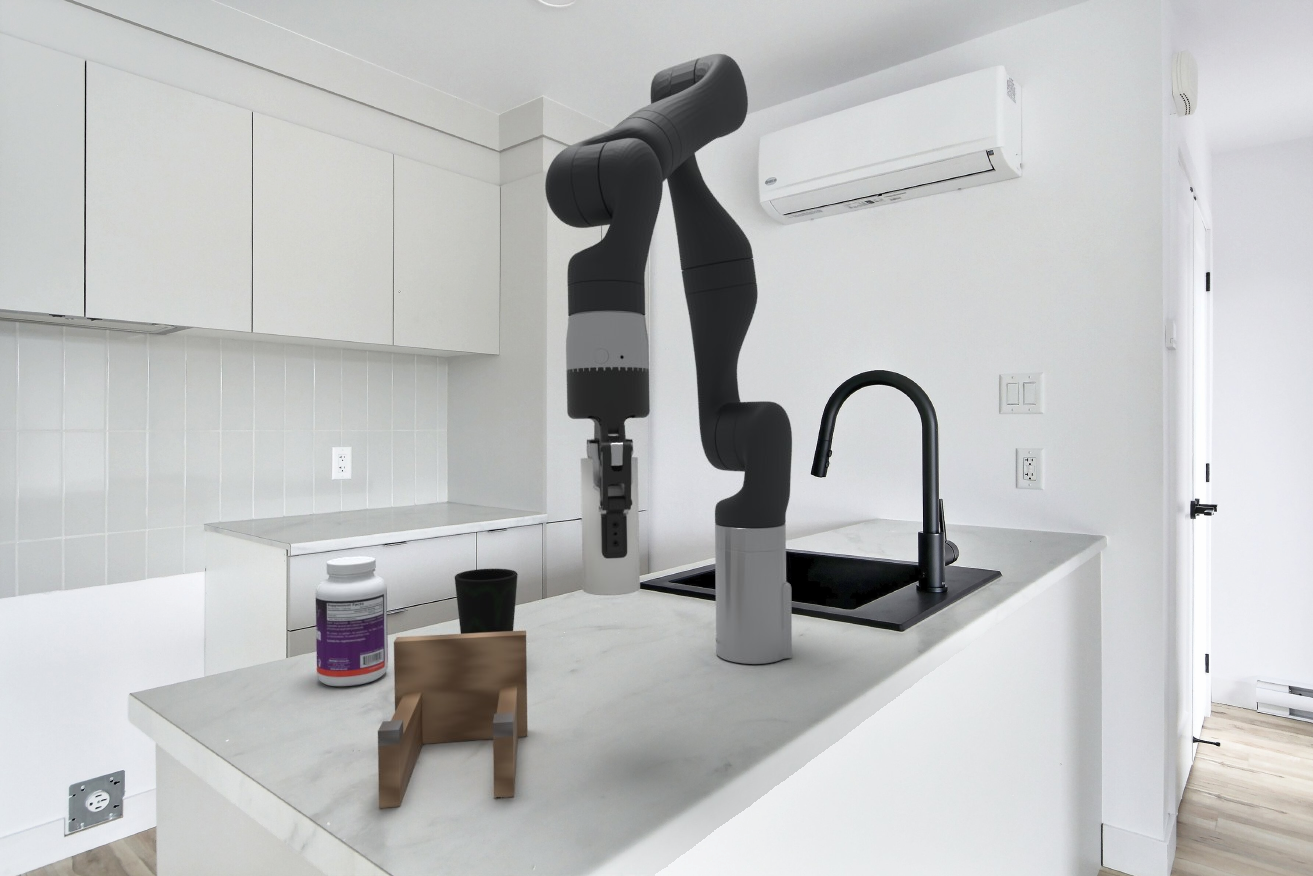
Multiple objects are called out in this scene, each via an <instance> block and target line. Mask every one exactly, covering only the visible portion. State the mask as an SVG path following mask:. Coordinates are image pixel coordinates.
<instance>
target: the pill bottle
mask: <svg viewBox="0 0 1313 876" xmlns="http://www.w3.org/2000/svg"><path fill="white" fill-rule="evenodd" d="M376 561H377V560H376V558H375V557H372V556H361V555H360V556H359V555H358V556H345V557H339V558H333V559H329V560H328V561H326V574H327V576H328V577H327V579H324V580H323V581H322V582H320V583H319V584H318V586H317V588H316V589H315V635H316V636H315V637H316V638H315V639H316V640H315V644H316V648H315V649H316V675H317V676H316V677H317V678H318V680H319V681H320V682H321V683H323V684H324V685H327V686H330V687H350V686H351V687H352V686H359V685H365V684H368V683H370V682H374V681H376V680H378V679H380V678H381V677H382V676H383V675H385V673H386V672H387V670H388V667H389V652H388V651H389V646H388V645H389V644H388V643H389V642H388V589H387V588H388V587H387V584H386V581H385V580H384V579H383V578H382V577H380V576H378V575H376V574H375V573H374V572H376V567H377V565H376V564H377V563H376Z"/></svg>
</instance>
